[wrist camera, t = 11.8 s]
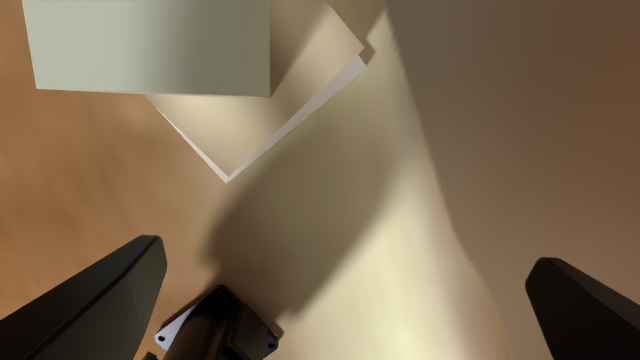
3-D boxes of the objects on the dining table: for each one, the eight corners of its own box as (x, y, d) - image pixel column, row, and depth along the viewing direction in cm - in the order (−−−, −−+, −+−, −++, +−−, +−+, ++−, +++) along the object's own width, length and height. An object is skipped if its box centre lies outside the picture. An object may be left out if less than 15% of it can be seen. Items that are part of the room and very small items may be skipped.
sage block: (270, 98, 17) (242, 95, 8) (172, 95, 17) (36, 88, 8) (270, -7, 16) (237, -138, 7) (164, -13, 16) (-4, -158, 7)
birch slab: (235, 169, 20) (228, 177, 18) (102, 38, 18) (78, 31, 16) (358, 53, 19) (364, 47, 17) (230, -102, 17) (221, -129, 15)
